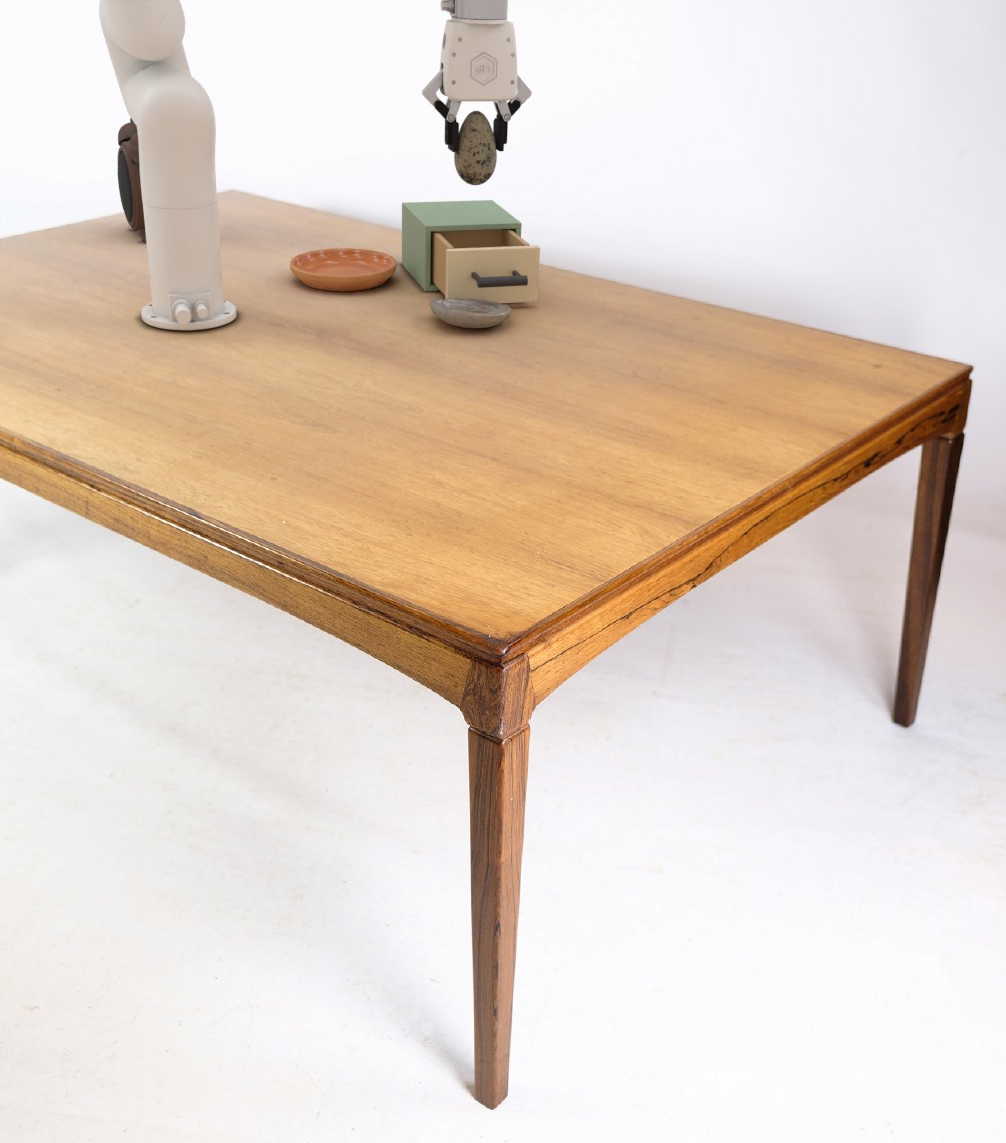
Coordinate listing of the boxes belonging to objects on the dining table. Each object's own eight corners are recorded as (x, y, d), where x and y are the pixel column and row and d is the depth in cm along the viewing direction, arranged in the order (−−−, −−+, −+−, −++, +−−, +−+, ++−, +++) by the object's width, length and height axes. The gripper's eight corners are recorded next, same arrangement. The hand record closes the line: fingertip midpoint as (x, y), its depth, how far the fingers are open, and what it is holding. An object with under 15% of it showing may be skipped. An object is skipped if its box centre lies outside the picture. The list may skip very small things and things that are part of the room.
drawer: (548, 311, 181) (551, 256, 178) (456, 316, 178) (457, 260, 174) (508, 274, 198) (510, 223, 194) (423, 278, 194) (423, 226, 190)
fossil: (472, 313, 185) (473, 293, 184) (523, 330, 177) (525, 310, 176) (412, 318, 179) (413, 298, 178) (463, 336, 171) (465, 315, 170)
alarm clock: (117, 227, 219) (104, 103, 210) (160, 224, 222) (149, 101, 212) (134, 247, 207) (121, 117, 198) (179, 244, 210) (168, 115, 201)
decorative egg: (504, 185, 183) (507, 111, 179) (477, 191, 179) (479, 115, 174) (472, 178, 186) (474, 106, 182) (445, 184, 182) (446, 110, 178)
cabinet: (519, 287, 195) (521, 223, 191) (425, 291, 191) (425, 226, 187) (490, 260, 208) (492, 200, 204) (401, 264, 204) (401, 202, 200)
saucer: (281, 292, 188) (280, 272, 187) (300, 264, 202) (299, 245, 201) (391, 297, 188) (391, 277, 186) (402, 269, 202) (401, 249, 201)
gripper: (423, 12, 167) (422, 156, 175) (549, 13, 171) (542, 154, 180) (409, 6, 173) (409, 146, 181) (532, 8, 178) (526, 144, 186)
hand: (475, 148), depth 180 cm, fingers closed on decorative egg, 5 cm apart
